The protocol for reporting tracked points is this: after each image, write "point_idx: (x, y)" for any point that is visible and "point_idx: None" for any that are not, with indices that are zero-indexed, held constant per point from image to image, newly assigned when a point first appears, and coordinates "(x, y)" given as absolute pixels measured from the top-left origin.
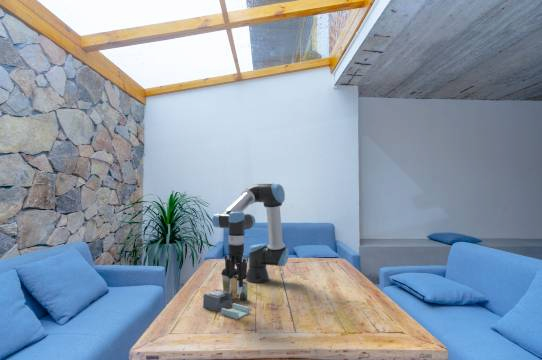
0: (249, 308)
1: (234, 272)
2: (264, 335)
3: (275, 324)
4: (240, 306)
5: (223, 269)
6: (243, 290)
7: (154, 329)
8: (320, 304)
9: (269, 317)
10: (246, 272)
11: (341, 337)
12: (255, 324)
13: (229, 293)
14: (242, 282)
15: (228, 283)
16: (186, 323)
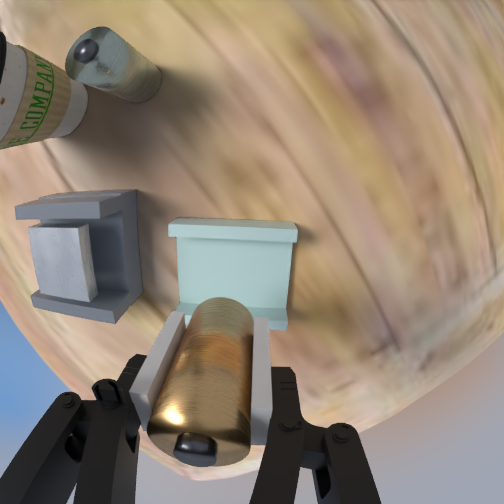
0: (296, 228)
1: None
2: (428, 348)
3: (443, 262)
4: (233, 238)
5: None
6: (123, 82)
7: None
8: (470, 9)
9: (404, 213)
10: (374, 491)
11: None
12: (379, 307)
13: (99, 218)
14: (298, 403)
15: (15, 137)
16: None
